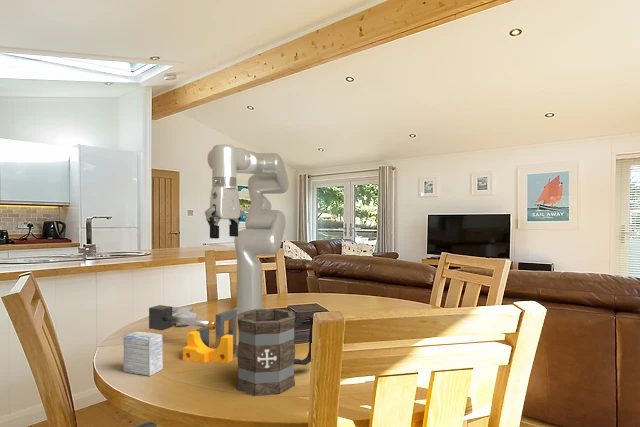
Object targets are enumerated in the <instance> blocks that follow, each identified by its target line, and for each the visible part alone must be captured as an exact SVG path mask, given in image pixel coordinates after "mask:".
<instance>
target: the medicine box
mask: <svg viewBox="0 0 640 427" xmlns="http://www.w3.org/2000/svg"><path fill="white" fill-rule="evenodd" d="M163 363H164V362H163V334H161V333H154V332H146V331H145V332H144V331H134V332H131V333H128V334H126V335H124V336H123V373H131V374H134V375H135V374H136V375H142V376H149V377H151V376H153V375H156V374H157V373H159V372H160V371H162V370H163V369H164V368H163V366H164V365H163Z"/></svg>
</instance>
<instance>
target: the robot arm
mask: <svg viewBox="0 0 640 427" xmlns="http://www.w3.org/2000/svg"><path fill="white" fill-rule="evenodd" d="M206 161H207V164H208V166H209V168H210V169H211V170H212V171H211V174H212V175H211V176H212V179H211V184H212V186H211V187H212V188H211V190H210V198H209V207H208V209H207V210H205V211H204V216H205V218H206V221H207V224H208V226H209V238H210V239H220V225H218V224H219V223H220V221H221V220H228V221H229V225H228V227H229V229H228V230H229V232H228V233H229V234H228V235H229V237H231V238H233V237H234V249H235V255H236V307H235V308H233V309H236V310H237V316H238V313H242V312H246V311H250V310H253V309H267V308H266V307H265V306H263V264H262V261H260V259H259V257H258V256H257V255H276V254H277V253H279V251H280V250H281V247H282V242H283V237H284V235H285V234H284V233H285V230H286V216H285V214H284V212H283V211H281V210H278V209H272V204H271V202H270V201H269V200H270V199H268V198H267V197H266V196H265V194H266V195H268V194H269V195H273V194H274V195H275V194H277V195H278V194H279V195H280V194H285V193H286V192H287V191H288V189H289V187H290V186H289V178H288V174H287V171H286V166H285V164H284V162H283V159H282V157H281V156H280V155H279V153H277V152H267V153H265V152H263V153H262V152H255V151H252V150H247V149H246V148H243V147H235V145H231V144H226V143H225V144H224V143H223V144H221V143H220V144H215V145H214V146H212V149H211V150H210V151H209V152H208V154H207V160H206ZM237 174H250V175H251V176H249V178H248V180H247V181H248V182H247V188H248V189H247V190H248V195H249V200H250V206H249V210H248V213H247V215H246V219H245V224H244V227H245V229H241V230H239V225H240V221H241V219H242V214H243V211H242V210H241V208H240V196H239V190H238V188H237Z"/></svg>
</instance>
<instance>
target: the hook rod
mask: <svg viewBox="0 0 640 427" xmlns="http://www.w3.org/2000/svg"><path fill="white" fill-rule="evenodd" d="M172 307H173V306H169V305H162V304H159V305H154V306H151V307H148V329H150V330H156V331H165V330H167V329H170V328H173V324H176V323H179V324H186V326H193V327H194V326H195V327H200V328H203V327H206V328H209V331H210V330H211V331H212V330H216V319H215V320H214V319H210V320H205V319H198V318H197V319H191V318H184V317H177V316H172V314H173V312H172ZM172 322H173V323H172Z"/></svg>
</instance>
